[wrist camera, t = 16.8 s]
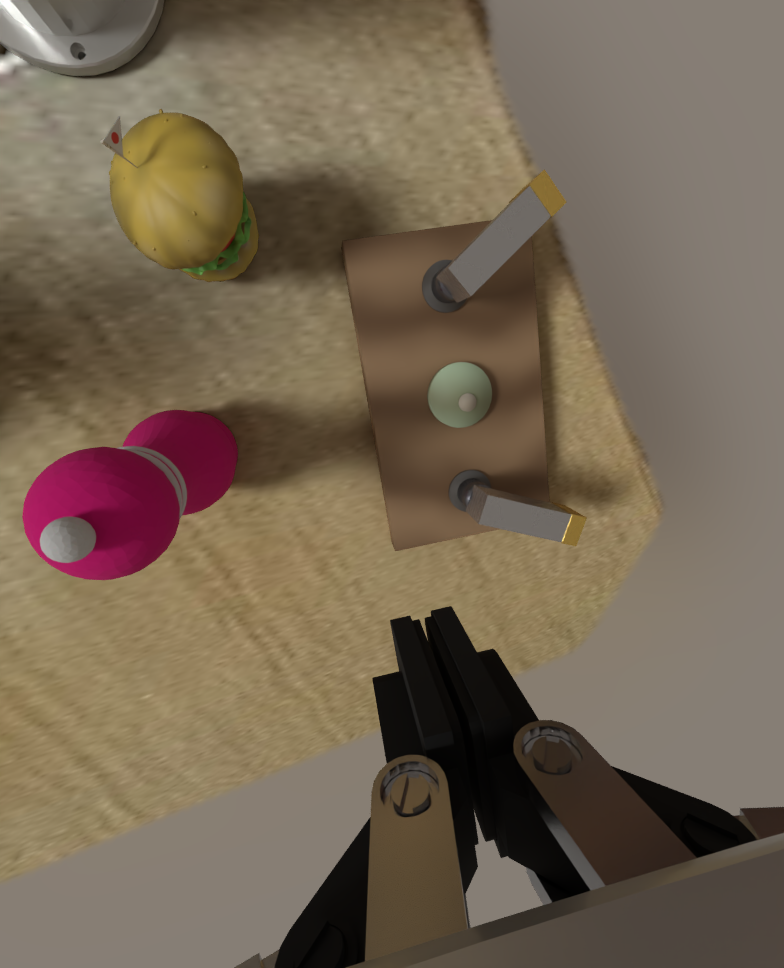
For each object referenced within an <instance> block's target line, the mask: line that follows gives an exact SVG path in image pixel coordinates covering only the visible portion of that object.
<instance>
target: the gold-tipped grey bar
mask: <svg viewBox="0 0 784 968" xmlns="http://www.w3.org/2000/svg"><path fill="white" fill-rule="evenodd" d="M565 203H566V201H565V199H564V198H563V196H562V195H561V193H560V192H559V190H558V189H557V187H556V186H555V184H554V183H553V181H552V180H551V179H550V177H549V176H548V174H547V173H546V171H545V170H543V171H542V172H541V173H540V174H539V175H538V176H536V177H535V178H534V179H533V180H532V181H531V182H530V183H529V184H527V185H526V186H525V187H524V188H523V189H522V190H521V191H520V192H519V193H518V194H517V195H516V196H515V197H514V198H513V199H512V200H511V201H510V202H509V204H508V205H507V206H506V207H505V208H504V209H503V210H502V211H501V212H500V213H499V214H498V215H497V216H496V217H495V218H494V219H493V220H492V221H491V222H490V223H489V224H488V225H487V226H486V227H485V228H484V229H483V230H482V231H481V232H480V233H479V234H478V235H477V236H476V237H475V238H474V239H473V240H472V241H471V242H470V243H469V244H468V246H467V247H466V248H465V249H464V250H463V251H462V252H461V253H460V254H459V255H458V256H457V257H456V258H455V259H454V260H453V261H451V262H449V263H448V264H447V265H445V266H444V267H443V268H442V269H440V270H439V271H438V272H437V273H436V274H435V275H434V277H433V279H432V284H431V288H432V292H433V295H434V296H435V298H436V299H437V300H439V301H440V302H442V303H452V302H454V301H456V302H457V303H458V302H460V301H462V300H464V299H466V298H469V297H471V296H472V295H473V294H474V293H475V292H476V291H477V290H478V289H479V288H480V287H481V286H482V285H483V284H484V283H485V282H486V281H487V280H488V279H489V278H490V277H491V276H492V275H493V274H494V273H495V272H496V271H497V270H498V269H499V268H500V267H501V266H502V265H503V264H504V263H505V262H506V261H507V260H508V259H509V258H510V257H511V256H512V255H513V254H514V253H515V252H516V251H517V250H518V249H519V248H520V247H521V246H522V245H523V244H524V243H525V242H526V241H527V240H528V239H529V238H530V237H531V236H532V235H533V234H534V233H535V232H536V231H537V230H538V229H539V228H540V227H541V226H542V225H543V224H544V223H545V222H546V221H547V220H548V219H549V218H551V217H552V216H553V215H554V214H555V213H556V212H557V211H558V210H559V209H560V208H561V207H562V206H563V205H564V204H565Z"/></svg>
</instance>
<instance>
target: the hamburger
mask: <svg viewBox="0 0 784 968" xmlns="http://www.w3.org/2000/svg"><path fill="white" fill-rule="evenodd" d="M159 112H160V114H156V115H152V116H149V117H147V118H144V119H143V120H141V121H140V122H138V123H137V124H136V125H135V126H133V127H132V128H131V129H130V130H129V131H128V132H127V134H126V135H125V136H124V138H123V139H122V136H121V125H120V116H119V117H118V119H117V120H116V122H115V123H114V125H113V126H112V128H111V129H110V131H109V133H108V134H107V136H106V137H105V139H104V140H101V143H102V144H104V145H105V146H106V147H108V148H109V149H111V150H112V151H113V152H115V155H114V158H113V161H111V164H112V166H111V170H110V171H109V175H110V194H111V201H112V206H113V209H114V212H115V215H116V217H117V220H118V222H119V224H120V226H121V228H122V230H123V231H124V233H125V234H126V236H127V237H128V239H129V240H130V241H131V242H132V243H133V244H134V245H135V247H136V248H137V249H138V250H139V251H141V252H142V253H143V254H144V255H145V256H146V257H147V258H149V259H151V260H153V261H154V262H157V263H159V264H160V265H161V266H163V267H165V268H168V269H180V270H181V271H183V272H185V273H187V274H189V275H190V276H191V277H192V278H194V279H199V280H205V281H207V282H212V281H220V282H221V281H225V280H230V279H234V278H236V277H237V276H238V275H239V274H240V273H243V272H244V271H245V270H246V268H247V266H248V265H249V264H250V263H251V261H252V260H253V257H254V255H255V254H256V252H257V249H258V239H259V234H258V230H257V222H256V218H255V215H254V210H253V207H252V205H251V203H250V202H249V201H248V200H247V198H246V196H245V193H244V192H243V177H242V173H241V171H240V168H239V163H238V160H237V157H236V155H235V154H234V152H233V151H232V150H231V149H230V148H229V146H228V145H227V143H226V142H225V140H224V139H223V138H222V137H221V136H220V135H219V134H218V133H216V132H215V131H214V130H213V129H212V128H211V127H210V126H209V125H208V124H206V123H205V122H203V121H201V120H199V119H196V118H194V117H191V116H188V115H185V114H181V113H163V111H162V110H161V109H160V110H159Z"/></svg>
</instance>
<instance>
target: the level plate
mask: <svg viewBox="0 0 784 968" xmlns="http://www.w3.org/2000/svg"><path fill="white" fill-rule="evenodd" d="M491 221H492V220H491ZM491 221H484V222H476V223H469V224H462V225H454V226H447V227H440V228H432V229H425V230H418V231H410V232H403V233H396V234H388V235H381V236H373V237H366V238H359V239H351V240H344V241H342V247H341V249H342V255H343V261H344V267H345V273H346V278H347V284H348V290H349V296H350V302H351V308H352V313H353V319H354V325H355V331H356V337H357V343H358V348H359V354H360V360H361V366H362V372H363V377H364V383H365V389H366V395H367V401H368V407H369V412H370V418H371V424H372V430H373V436H374V442H375V447H376V453H377V459H378V465H379V471H380V477H381V482H382V488H383V494H384V500H385V506H386V512H387V517H388V523H389V529H390V535H391V541H392V544H393V547H394V549H395V551H399V550H403V549H408V548H413V547H418V546H422V545H427V544H432V543H436V542H441V541H446V540H450V539H455V538H460V537H465V536H469V535H474V534H479V533H483V532H488V531H493V530H498V529H499V528H494V527H490V526H485V525H481V524H478V523H477V522H476V521H475V520H474V519H473V518H472V517H471V516H470V515H469V514H468V513H467V512H466V507H465V506H464V505H463V504H462V503H461V502H460V501H459V499H458V496H457V491H458V487H459V485H460V484H461V483H462V482H463V481H464V480H466V479H469V478H476V479H478V480H480V481H481V482H483V483H484V484H486V485H487V486H489V487H490V488H491V489H495V490H499V491H503V492H508V493H512V494H516V495H520V496H524V497H529V498H533V499H537V500H541V501H545V502H549V487H548V472H547V457H546V442H545V427H544V412H543V397H542V382H541V367H540V352H539V337H538V322H537V307H536V292H535V277H534V262H533V247H532V236H531V237H530V238H529V239H528V240H527V241H526V242H525V243H524V244H523V245H522V246H521V247H520V248H519V249H518V250H517V251H516V252H515V253H514V254H513V255H512V256H511V257H510V258H509V259H508V260H507V261H506V262H505V263H504V264H503V265H502V266H501V267H500V268H499V269H498V270H497V271H496V272H495V273H494V274H493V275H492V276H491V277H490V278H489V279H488V280H487V281H486V282H485V283H484V284H483V285H482V286H481V287H480V288H479V289H478V290H477V291H476V292H475V293H474V294H473V295H472V296H471V297H469V298H466V299H464V300H462V301H460V302H458V303H457V302H456V301H454V302H452V303H442V302H440V301H439V300H437V299H436V298H435V296H434V295H433V292H432V288H431V284H432V279H433V277H434V275H435V274H436V273H437V272H438V271H439V270H440V269H442V268H443V267H444V266H445V265H447V264H448V263H449V262H451V261H453V260H454V259H455V258H456V257H457V256H458V255H459V254H460V253H461V252H462V251H463V250H464V249H465V248H466V247H467V246H468V244H469V243H470V242H471V241H472V240H473V239H474V238H475V237H476V236H477V235H478V234H479V233H480V232H481V231H482V230H483V229H484V228H485V227H486V226H487V225H488V224H489V223H490V222H491Z"/></svg>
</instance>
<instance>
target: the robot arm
mask: <svg viewBox="0 0 784 968" xmlns="http://www.w3.org/2000/svg"><path fill="white" fill-rule="evenodd" d="M163 5H164V0H0V44H1V45H3V46H4V47H5V48H6V49H8V50H9V51H10V52H11V53H13V54H15V55H16V56H18V57H20V58H22V59H23V60H25V61H27V62H29V63H30V64H32V65H35V66H38V67H40V68H43V69H46V70H48V71H51V72H54V73H60V74H66V75H71V76H89V75H98V74H101V73H105V72H109V71H112V70H115V69H116V68H118V67H120V66H122V65H124V64H126V63H127V62H129V61H130V60H132V59H133V58H134V57H135V56H136V55H137V54H138V53H139V52H140V51H141V50H142V49H143V48H144V47H145V46H146V44H147V43H148V41H149V40H150V38H151V37H152V35H153V34H154V32H155V30H156V27H157V25H158V22H159V20H160V17H161V15H162V11H163ZM83 57H85V58H84V59H82V58H83ZM81 59H82V60H81ZM390 623H391V629H392V634H393V640H394V645H395V651H396V656H397V662H398V667H399V672H395V673H391V674H387V675H382V676H378V677H374V678H372V679H373V685H374V691H375V697H376V703H377V709H378V715H379V720H380V726H381V732H382V738H383V744H384V750H385V756H386V761H387V764H386V765H385V766H384V767H383V768H382V770H380V771H379V773H378V775H377V777H376V778H375V780H374V783H373V788H372V795H371V817H370V818H369V820H368V821H367V823H366V824H365V825H364V827H363V828H362V829H361V831H360V832H359V834H358V835H357V837H356V838H355V839H354V841H353V842H352V844H351V845H350V846H349V848H348V849H347V851H346V852H345V853H344V855H343V856H342V858H341V859H340V861H339V862H338V863H337V865H336V866H335V867H334V869H333V870H332V872H331V873H330V874H329V876H328V877H327V879H326V880H325V881H324V883H323V884H322V886H321V887H320V888H319V890H318V891H317V893H316V894H315V895H314V897H313V898H312V900H311V901H310V903H309V904H308V905H307V907H306V908H305V909H304V911H303V912H302V914H301V915H300V916H299V918H298V919H297V921H296V922H295V924H294V925H293V926H292V928H291V929H290V930H289V932H288V934H287V936H286V938H285V940H284V941H283V943H282V945H281V947H280V949H279V950H278V951H276V952H274V953H273V954H271V955H269V956H267V957H266V958H264V959H261V956H260V954H259V953H258V954H256V955H255V956H253V957H251V958H250V959H248V960H246V961H245V962H243V963H241V964H239V965H238V966H236V967H235V968H784V807H768V808H741V809H740V815H738V816H732V815H731V814H730V813H728V812H726V811H725V810H723V809H721V808H718V807H716V806H714V805H712V804H710V803H707V802H705V801H702V800H699V799H697V798H694V797H691V796H689V795H686V794H684V793H681V792H678V791H676V790H673V789H670V788H668V787H665V786H662V785H660V784H657V783H654V782H652V781H649V780H646V779H644V778H641V777H639V776H636V775H634V774H631V773H628V772H626V771H623V770H620V769H618V768H615V767H612V766H610V765H609V763H608V762H607V761H606V760H605V759H604V758H603V757H602V756H601V755H600V754H599V753H598V752H597V751H596V750H595V749H594V747H593V746H592V745H591V744H590V743H589V742H588V741H587V740H586V739H585V738H584V737H583V736H582V735H581V734H580V733H579V732H577V731H576V730H575V729H574V728H572V727H570V726H568V725H566V724H564V723H561V722H557V721H552V720H538V718H537V716H536V715H535V713H534V711H533V710H532V708H531V707H530V705H529V703H528V702H527V700H526V699H525V697H524V695H523V694H522V692H521V691H520V689H519V687H518V686H517V684H516V682H515V681H514V679H513V678H512V676H511V674H510V673H509V671H508V670H507V668H506V666H505V665H504V663H503V662H502V660H501V658H500V657H499V655H498V653H497V652H496V651H495V650H494V649H490V650H485V651H481V652H476V650H475V648H474V646H473V645H472V643H471V641H470V639H469V637H468V635H467V634H466V632H465V630H464V628H463V626H462V625H461V623H460V621H459V619H458V617H457V615H456V614H455V612H454V610H453V608H452V607H451V606H450V607H445V608H441V609H437V610H432V611H431V617H427V618H425V625H426V632H427V638H428V641H427V638H426V635H425V633H424V630H423V628H422V625H421V623H420V620H419V619H418V620H414V621H412V619H411V617H410V616H406V617H402V618H397V619H393V620H390ZM474 811H475V813H476V817H477V820H478V822H479V825H480V828H481V831H482V834H483V837H484V839H485V841H486V842H487V841H491V840H494V841H495V843H496V846H497V848H498V851H499V853H500V857H501V858H502V857H506V856H508V857H509V858H511V859H512V860H514V861H516V862H518V863H520V864H521V865H523V866H525V867H526V869H527V874H528V876H529V879H530V881H531V884H532V886H533V887H534V889H535V891H536V893H537V894H538V896H539V898H540V900H541V902H542V903H543V906H540V907H537V908H533V909H530V910H527V911H524V912H521V913H517V914H514V915H511V916H508V917H504V918H501V919H498V920H495V921H492V922H488V923H485V924H482V925H479V926H476V927H473V928H470V923H469V922H470V921H469V914H468V908H467V901H466V895H465V893H466V891H467V889H468V887H469V885H470V883H471V880H472V878H473V876H474V874H475V872H476V870H477V867H478V865H477V858H476V851H475V845H477V844H478V836H477V829H476V822H475V815H474Z"/></svg>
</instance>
